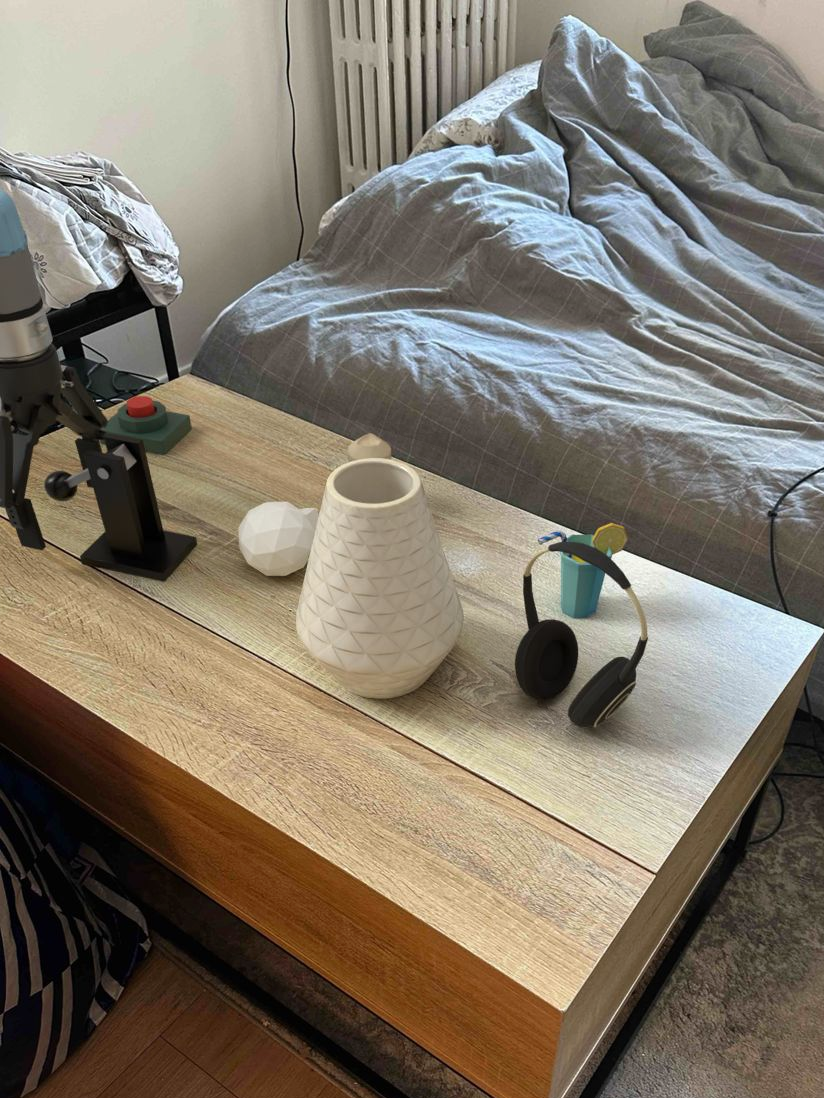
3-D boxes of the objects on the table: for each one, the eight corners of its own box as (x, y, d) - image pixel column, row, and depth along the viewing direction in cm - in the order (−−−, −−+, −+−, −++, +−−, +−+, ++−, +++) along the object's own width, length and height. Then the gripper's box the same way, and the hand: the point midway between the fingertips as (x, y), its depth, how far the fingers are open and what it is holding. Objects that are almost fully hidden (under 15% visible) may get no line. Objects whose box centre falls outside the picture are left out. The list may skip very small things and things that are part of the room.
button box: (100, 443, 137) (94, 417, 135) (130, 417, 143) (124, 392, 140) (164, 455, 136) (159, 429, 133) (192, 428, 141) (187, 403, 139)
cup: (544, 637, 110) (553, 551, 102) (519, 606, 114) (525, 521, 106) (626, 611, 114) (641, 527, 106) (599, 582, 118) (611, 498, 110)
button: (123, 416, 136) (121, 405, 135) (137, 405, 139) (134, 394, 137) (147, 420, 135) (144, 409, 134) (160, 409, 138) (157, 398, 137)
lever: (52, 510, 115) (31, 485, 113) (70, 495, 117) (50, 470, 116) (127, 478, 109) (106, 451, 107) (143, 462, 111) (123, 435, 109)
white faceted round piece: (295, 590, 111) (349, 548, 121) (271, 516, 107) (329, 478, 116) (237, 590, 115) (293, 549, 124) (211, 518, 111) (272, 481, 120)
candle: (356, 493, 131) (351, 426, 124) (396, 497, 130) (394, 430, 124) (347, 516, 127) (342, 448, 120) (388, 520, 126) (386, 452, 120)
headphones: (602, 762, 96) (630, 606, 83) (491, 692, 103) (499, 536, 90) (650, 718, 101) (684, 563, 88) (541, 653, 108) (556, 500, 95)
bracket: (81, 564, 116) (48, 455, 106) (117, 528, 122) (89, 422, 112) (165, 581, 115) (139, 472, 105) (197, 544, 120) (176, 438, 110)
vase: (430, 738, 98) (429, 552, 82) (273, 698, 101) (244, 511, 85) (482, 633, 110) (490, 454, 95) (341, 600, 113) (327, 422, 98)
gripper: (-29, 405, 93) (33, 580, 108) (112, 309, 111) (148, 470, 126) (-96, 393, 95) (-27, 568, 109) (54, 299, 113) (97, 460, 127)
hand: (67, 515), depth 117 cm, fingers open, 13 cm apart
